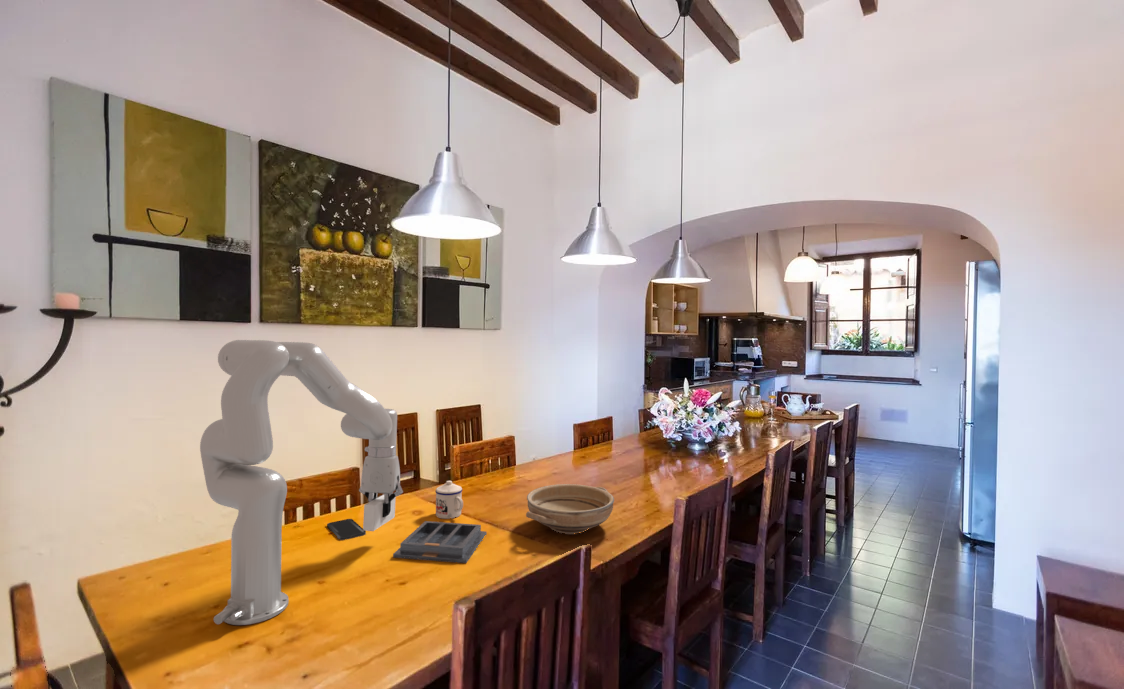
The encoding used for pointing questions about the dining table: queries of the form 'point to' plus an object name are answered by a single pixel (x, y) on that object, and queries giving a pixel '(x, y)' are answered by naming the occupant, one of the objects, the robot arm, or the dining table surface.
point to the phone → (346, 529)
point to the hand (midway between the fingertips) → (380, 514)
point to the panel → (376, 514)
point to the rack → (441, 542)
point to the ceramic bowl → (570, 507)
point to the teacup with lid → (448, 501)
